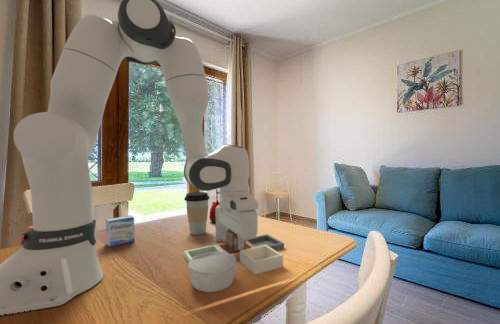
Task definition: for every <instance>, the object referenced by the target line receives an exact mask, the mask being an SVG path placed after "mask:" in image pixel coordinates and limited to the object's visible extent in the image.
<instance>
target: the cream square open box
mask: <svg viewBox="0 0 500 324" xmlns="http://www.w3.org/2000/svg"><path fill="white" fill-rule="evenodd" d="M239 262H240V263H241V264H242V265H243V266H244V267H246V269H247V270H249V271H250V272H251V273H252V274H254V275H255V276H256V275H259V274H262V273H265V272H270V271H274V270H276V269H280V268H284V255H283V254H281V253H280V252H279V251H277V250H274V249H272V248H270V247H269V246H267V245H262V246H257V247H253V248H249V249H244V250H240V259H239Z"/></svg>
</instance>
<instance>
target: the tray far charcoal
mask: <svg viewBox="0 0 500 324" xmlns="http://www.w3.org/2000/svg"><path fill="white" fill-rule="evenodd" d="M246 242H248V243H249V244H251V245H252V246H254V247H257V246H262V245H267V246H269V247H270V248H272V249H274V250H275V251H277V250H282V249H284V248H285V242H283V241H281V240H279V239H277V238H275V237H273V236H271V235H270V234H262V235H256V237H255V238H253V239H248V240H246Z"/></svg>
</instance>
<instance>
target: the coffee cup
mask: <svg viewBox="0 0 500 324" xmlns="http://www.w3.org/2000/svg"><path fill="white" fill-rule="evenodd" d="M209 200H210V195H208V192H206V191H203V192H202V191H197V192H196V191H195V192H188V193H186V194H185V196H184V200H183V201H184V202H186V212H187V221H188V226H189V233H190V234H191V235H192V236H199V235H200V236H202V235H203V234H206V233H207V222H208V221H207V220H208V213H209V212H208V211H209Z"/></svg>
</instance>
